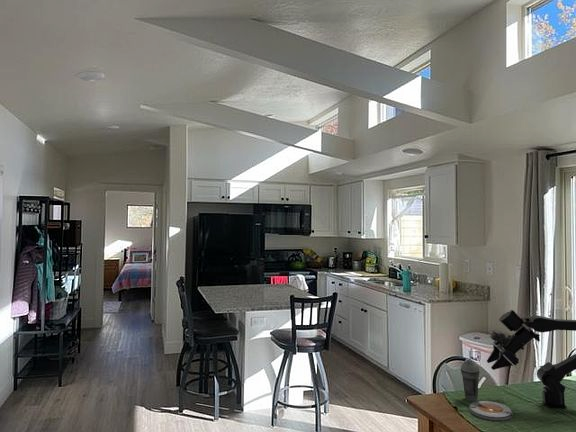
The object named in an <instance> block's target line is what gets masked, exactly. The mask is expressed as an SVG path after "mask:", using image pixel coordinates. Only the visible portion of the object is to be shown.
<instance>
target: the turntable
mask: <svg viewBox="0 0 576 432" xmlns="http://www.w3.org/2000/svg"><path fill="white" fill-rule="evenodd" d="M469 406H470V409H471V410H472V411H473V412H474V413H476V414H479V415H481V416H485V417H490V418H505V417H508V416H510V415H511V411H512V410H511V408H510V407H509V406H507V405H505V404H502V403H499V402H496V401H489V400H477V401H472V402H471V403H470V404H469Z"/></svg>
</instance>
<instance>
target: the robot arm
mask: <svg viewBox="0 0 576 432" xmlns="http://www.w3.org/2000/svg"><path fill="white" fill-rule="evenodd" d="M498 320H499V322H500V323H501V324H502V325H503V326H504V327H505V328H506V329H507V330H508V331H510V332H514V333H513V334H508V335H506V334H505V333H502V332H498V331H496V330H492V332H491V334H490V336H489V337H490V339H491V340H493V342H492V343H493V344H492V347H493V348H492V349H493V350H492V351H491V353H490V354H489V356H488V358H487V360H486V362H487V364H490V363H493V362H494V363H493V364H492V366H491V367H490V368H491V370H492V371H493V370H494V371H495V370H498V369H502V368H506V367H512V366H517V365H518V364H519V358H518V357H517V354H518V352H520V351H521V350H522V351H523V350H525V346H527V345H528V344H529V343H530V342H531V341H533V340H536V341H537V342H538V343H539V342H541V340H540V336H541V335H540V334H539V333H549V332H554V331H573V332H574V331H575V332H576V319H560V318H559V319H558V318H557V319H556V318H551V317H547V316H542V315H537V314H536V315H535V314H534V315H530V316H529V317H524V318H521V317H520V316H519V315H518V314H517V312H516V311H515V310H513V309H511V310H510V311H507V312H506V313H503V314H502V315H501V316H500V317H499V318H498ZM524 325H525V326H526V327H527V328H526V327H525V326H524ZM533 330H534V331H535V332H537V333H535V332H534V331H533ZM575 370H576V353H574V354H573V355H570V356H569V357H567V358H566V359H564V360H562V361H560V362H558V363H555V364H552V363H551V362H550V361H548V362H546V363H545V364H543V365H540V366H539V368H538V369H537V371H536V377H537V379H538V380H539V381H540V382H541V383H542V384H543V390H542V391H541V394H542V403H544V405H545V406H546V407H548V408H557V409H558V408H559V409H568V408H567V407H568V406H567V405H566V402H565V391H566V386H565V385H563V384H562V381H563V380H564V378H565V377H566V375H568V374H570V373H572V372H574V371H575Z"/></svg>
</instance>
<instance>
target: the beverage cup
mask: <svg viewBox="0 0 576 432" xmlns="http://www.w3.org/2000/svg"><path fill="white" fill-rule="evenodd" d="M468 354H469V355H468V356H469V357H468V358H469V359H468V360H465V361H463V362H462V364H461V365H460V373H461V376H462V383H463V385H462V386H463V389H464V391H463V392H464V397H465V400H467V401H468V400H469V402H477V401H478V400H477V399H478V397H479V377H480V372H481V371H480V368H479V365H478V364H477V363H476V362H475V361H473V360H472V358H471V357H472V355H471V354H472V353H471V349H470V350H468ZM476 400H477V401H476Z"/></svg>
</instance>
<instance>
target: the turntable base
mask: <svg viewBox="0 0 576 432" xmlns="http://www.w3.org/2000/svg"><path fill="white" fill-rule="evenodd" d="M468 411H469V413H470V414H471V415H472V416H474V417H476V418H479V419H481V418H482V420H485V419H487V420H486V421H490V420H492V421H491V422H506V421H509V420H511V419H513V417H514V414H513V411H512V410H511V415H510V416H508V417H505V418H490V417H485V416H481V415H479V414H476V413H474V412H473V411H472V410H471V409H470V405H469V406H468Z"/></svg>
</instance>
